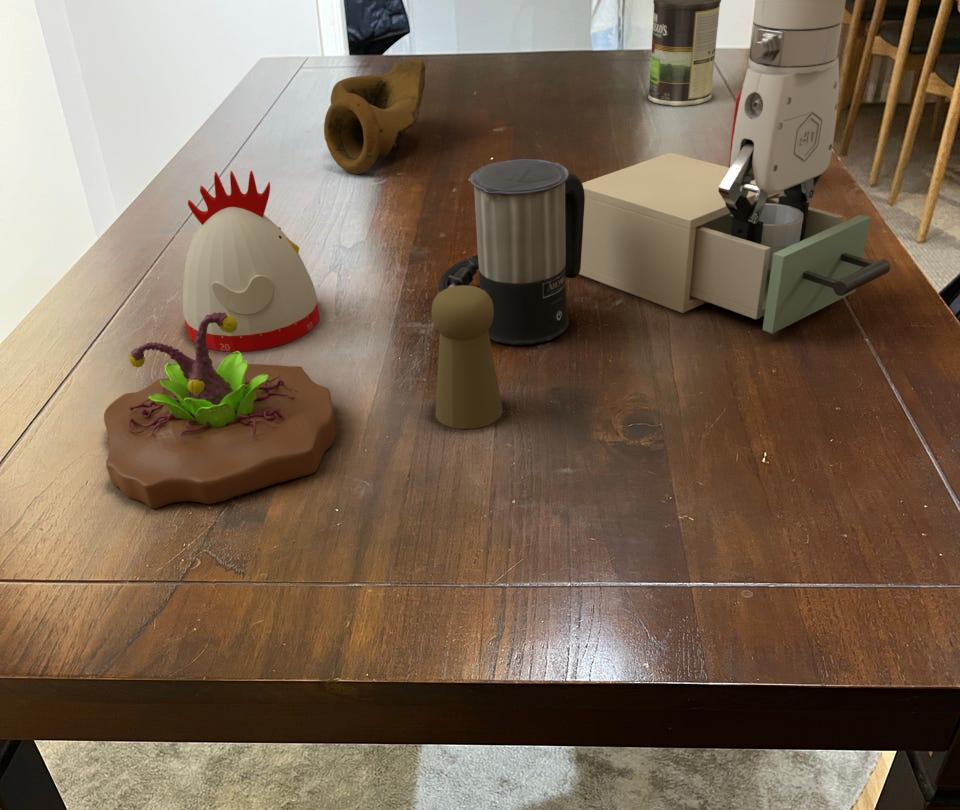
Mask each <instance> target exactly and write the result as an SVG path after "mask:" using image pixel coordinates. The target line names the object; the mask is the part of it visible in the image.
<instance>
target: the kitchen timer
mask: <svg viewBox="0 0 960 810" xmlns="http://www.w3.org/2000/svg"><path fill="white" fill-rule="evenodd" d="M248 176H249V177H248V184H247V191H246V193H243V192H242V191H241V188H240V186H239V183H238V180H237V178H236V176H235V175H234V172H233V171H232V170H230V172H229V183H230V194H228V193H227V192H226V190H225V187H224V185H223V183H222V181H221V179H220V177H219V175H218V173H217V171H215V172H214V175H213V180H214V181H213V184H214V195H215V197H214V196H212V195H211V194H210V192H209V191H208V190H207V189H206V188H205V187H204V186H203V185H200V187H199V192H200V195H201V196H202V197H201V198H202V199H203V201H204V203H205V206H206V208H207V210H206V211H205V210H204V211H203V210H201V209H199V208H198V207H197V205H196V204H194V203H193V202H192V201H191V200H190V199H188V200H187V205H188V207H189V209H190V211H191V212H192V214H193V216H194V217H195V218H196V219H197V221H198V222H199V223H200V225H199V227H198V228H197V230H196V231H195V233H194V235H193V237H192V239H191V242H190V244H189V247H188V250H187V254H186V258H185V263H184V264H185V265H184V272H183V282H182V283H183V284H182V285H183V286H182V313H183V319H184V323H185V328H186V331H187V335H188V336H189V338H190V339H191V341H192V342H194V343H195V339H197V336H196V333H197V331H198V330H199V326H200V323H201V322H202V321H203V320H204V318H205V316H206V315H211V314H213V313H219V312H221V313H224V312H225V313H226V314H230V315H232V316H233V317H234V318H235V319H236V320H237V328H236V329H237V330H235V331H234V332H231V333H227V332H225V331H223V330H221V329H220V327H219V326H218V325H217V324H216V323H215V322H214V323H209V325H208V327H207V334H206V341H207V342H206V345H207V349H209V350H214V351H218V352H219V351H221V352H232V353H234V352H236V351H239V352H251V351H252V352H253V351H259V350H266V349H270V348H275V347H279V346H282V345H284V344H288V343H291V342H293V341H295V340H297V339H299V338H301V337H303V336H306V335H307V334H308V333H309V332H310V331H312V330H313V329H314V328H315V327H316V326H317V324H318V322H319V321H320V319H321V317H320V308H319V302H318V296H317V293H316V287H315V286H314V282H313V281H312V280H313V279H312V278H311V276H310V273H309V272H308V269H307V268H306V265H305V263H304V261H303V259H302V257H301V256H300V253H299V252H300V247H299V246H298V245H297V244H296V243H295V242H293V241H292V240H291V239H290V238H289V237H288V236H287V235H286V234H285V233H284V232H283V231H282V228H281V227H279V226H278V225H277V224H276V223H275V222H274V221H272V220H271V219H270V218H269V217H268V216H266V215H265V211H266V208H267V205H268V201H269V197H270V194H271V193H270V192H271V182H270V181H268V182H267V185H266V187H265V188H264V190H263V192H262V193H260V192H259V191H258V189H257V184H256V179H255V176H254V172H253V170H250V171H249V175H248Z"/></svg>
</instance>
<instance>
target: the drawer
mask: <svg viewBox="0 0 960 810" xmlns="http://www.w3.org/2000/svg"><path fill="white" fill-rule="evenodd" d="M778 202H779V199H778V198H775V197H769V198H767V200H766V202H765V204H766V203H768V204H778ZM871 219H872V217H871V216H868V215H864V214H858V215H856V216H854V217H851V218H849V219H847V220H844V221H842V220H843V215H841V214H837V213H833V212H831V211H826V210H823V209H820V208H819V209H818V208H815V207H811V206H809V208H808V214H807V220H806V226H805V233H804V239H803V240H802V241H800V242H798V243H796V244H793V245H791V246H789V247H787V248H784V249H782V250H780V251H778V252H775V253H774V254H773V260H772V267H771V270H770V271H768V264H769V257H770V250H771V248H770V247H767V246H764V245H761V244H758V243H754V242H751V241H748V240H745V239H741V238H738V237H735V236H731V231H732V223H733V218H731V217H730V215H729V214H727V215H724V216H722V217H720V218H717V219H715V220H712V221H710V222H707V223H705V224H702V225H700V226H697V227H696V232H695V243H694V254H693V265H692V276H691V287H690V296H692V297H695V298H698V299H701V300H704V301H706V303H709V304H712V305H714V306H718V307H721V308H723V309H725V310H729V311H731V312H734V313H736V314H739V315H742V316H745V317H748V318H751V319H754V320H758V319H761V318H762V317H763V323H762V331H764V332H766V333H769V334H775V333H777V332H779V331H781V330H783V329H784V328H786V327H788V326H791V325H792V324H794V323H796V322H798V321H800V320H802V319H804V318H807V317H808V316H810V315H812V314H814V313H816V312H818V311H820V310H822V309H824V308H826V307H827V306H830V305H832V304H834V303H836V302H837V301H840V300H842V299H844V298H847V296H850V295H851V294H854V293H855V292H857V289H858V288H861V287H862V286H865V285H866V284H868V283H870V282H873V281H874V280H876V279H878V278H880V277H882V276H884V275H886V274H888V273H889V272H890V270H891V264H890V262H889V260H888V259H884V258H880V259H879V260H877V261H873V260H871V259H867V258H864V253H865V249H866V244H867V239H868V233H869V229H870V223H871Z"/></svg>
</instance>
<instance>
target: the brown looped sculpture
mask: <svg viewBox="0 0 960 810" xmlns="http://www.w3.org/2000/svg"><path fill="white" fill-rule="evenodd" d="M425 81H426V64H425V62H424V60H423V59H422V58H417V59H415V58H409V59H407V60H404V61H402V62H399V61H396V62H394V65H393V67H391V70H389V72H388V73H386V74H385V73H384V74H367V75H366V74H365V75H358V76H350V77H346V78H343V79H341V80H339V81H337V82H336V83H335V84H334V86H333V88H332V90H331V94H330V105H329V108H327V111H326V112H325V113H326V114H325V117H324V118H325V119H324V122H323V134H324V135H323V136H324V140H325V143H326V146H327V149H328V151H329V153H330V156H331V157H332V159H333V160H334V162H335V163H336V165H338V166H339V167H340V168H341V169H342V170H343V171H345V172H347V173H350V174H353V175H363V174H364V173H366V172H368V171H369V170H370V169H371V168H372V167H373V166H374V165H375V164H376V162H377V159H382V158H384V157H386V156H387V155H390V152H391V150H392V149H394V148H396V147H397V143H396V141H397V138H398V135H401V134H403V133H404V132H405V131H406V130H408V129H409V128H411V126H413V125H414V123H416V122H417V120H418V118H419V115H420V109H421V108H420V107H421V104H422V101H423V95H424V90H425V85H426V82H425Z"/></svg>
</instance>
